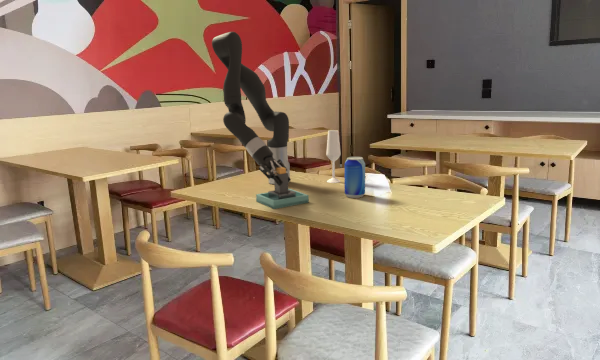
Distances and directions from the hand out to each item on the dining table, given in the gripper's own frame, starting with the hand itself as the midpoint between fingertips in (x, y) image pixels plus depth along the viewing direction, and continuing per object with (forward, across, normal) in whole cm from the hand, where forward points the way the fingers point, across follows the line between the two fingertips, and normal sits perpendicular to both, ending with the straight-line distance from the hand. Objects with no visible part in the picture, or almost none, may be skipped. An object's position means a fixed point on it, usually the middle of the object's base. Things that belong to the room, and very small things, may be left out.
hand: (285, 182), depth 193 cm
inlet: (+4, 0, +6) cm, 7 cm away
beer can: (+20, +21, -9) cm, 31 cm away
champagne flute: (+6, +43, +5) cm, 44 cm away
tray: (+5, 0, +7) cm, 8 cm away
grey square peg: (+2, 0, +4) cm, 5 cm away
